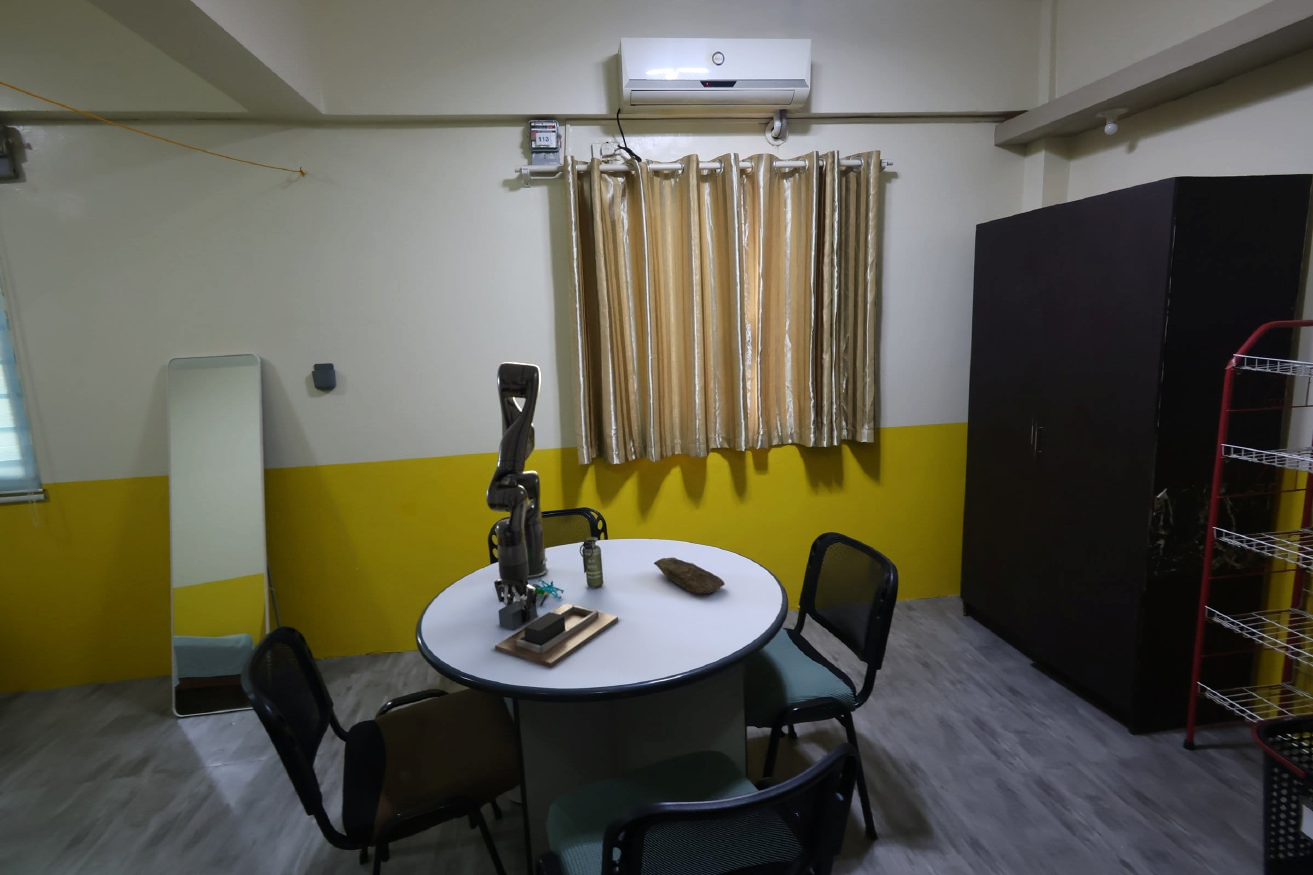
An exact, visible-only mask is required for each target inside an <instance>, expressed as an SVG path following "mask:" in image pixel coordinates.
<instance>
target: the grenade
mask: <svg viewBox="0 0 1313 875" xmlns="http://www.w3.org/2000/svg"><path fill="white" fill-rule="evenodd" d="M598 540H599V539H598V537H596V536H591V537H590V536H588V537H587V538H584V540H583V543H582V545H581V546H580V547H579V554H580V556H581V557H582V562H583V563H582V564H583V574H585V578H586V584H587V586H588V588H591V589H596V588H601V587H602V586H603V584H604V574H603V572H604V571H603V561H602V550H601V547H600V545H597V544H596V543H597V541H598Z"/></svg>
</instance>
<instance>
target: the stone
mask: <svg viewBox="0 0 1313 875" xmlns="http://www.w3.org/2000/svg"><path fill="white" fill-rule="evenodd" d="M653 565H655V566H656V567H657V568H658V569H659V570H660V571H661V573H662V574H663V575H664V576H665V577H667V578H668V580H670V581H672V582H674V583H675V584H677V585H679V586H680V587H682V589H684V590H686V591H689V592H691V593H692V594H709V593H713V592H715V591H718V590H720V589H721V587H723V586H725V585H726V584H725V582H724V580H722V578H720V577H719V576H717V575H716V574H714V573H712V572H711V571H708V570H706V569H703V568H702V567H700V566H698V565H696V564H695V563H692V562H688V561H684V560H682V559H678V558H676V557H662V558H660V559H657V560H655V561H654V562H653Z"/></svg>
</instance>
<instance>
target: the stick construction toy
mask: <svg viewBox="0 0 1313 875" xmlns="http://www.w3.org/2000/svg"><path fill="white" fill-rule="evenodd" d="M540 582H541V585H542V586H541V585H539V584H536V583H534V584H532V585H531V586H532V587H534V586H537V588H538V590H537V598H539V596H540V595H541V596H543V597H542V599H541V601H540V603H539V607H543V606H544V604H545V602H546V600H547V598H549V597H550V595H552V596H553V597H555V598H557V599H558V600H561V598H562V596H561V595H560V596H559V595H558V593H557V592H558V591H559V592H561V593H560V594H563V593H564V592H565V590H564V589H562V588H559V587H556V586H554V580H551V581H550V584H549V583H547V581H544V580H543V579H542V578H539V579H538V581H537V583H540Z"/></svg>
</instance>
